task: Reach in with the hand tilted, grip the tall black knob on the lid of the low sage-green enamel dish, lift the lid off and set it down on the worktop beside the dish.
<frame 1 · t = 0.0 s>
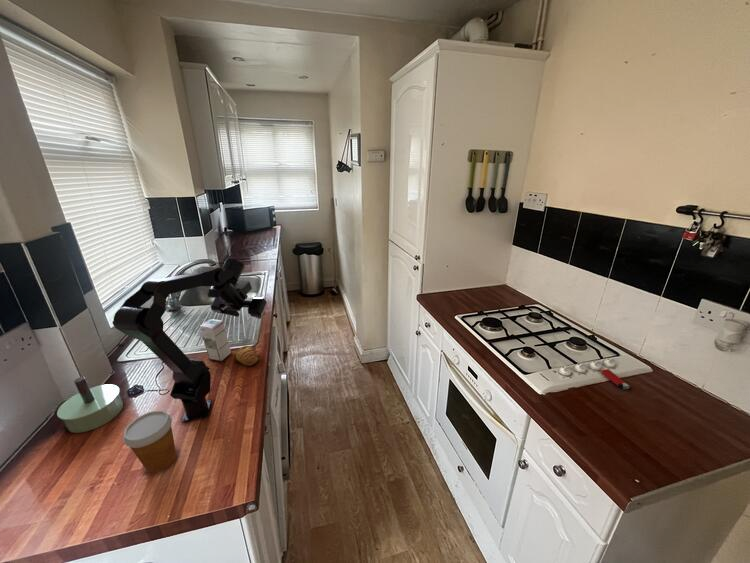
hand: (249, 316, 113), 15 cm above the worktop, tool tilted 35°, fingers open, 9 cm apart
pastry: (248, 359, 114), on the worktop
pot: (96, 414, 90), on the worktop
disposable coffee cup: (161, 461, 76), on the worktop
syrup box: (220, 356, 116), on the worktop
lighter: (614, 381, 98), on the worktop
lid: (90, 401, 88), point 5 cm above the worktop, touching pot
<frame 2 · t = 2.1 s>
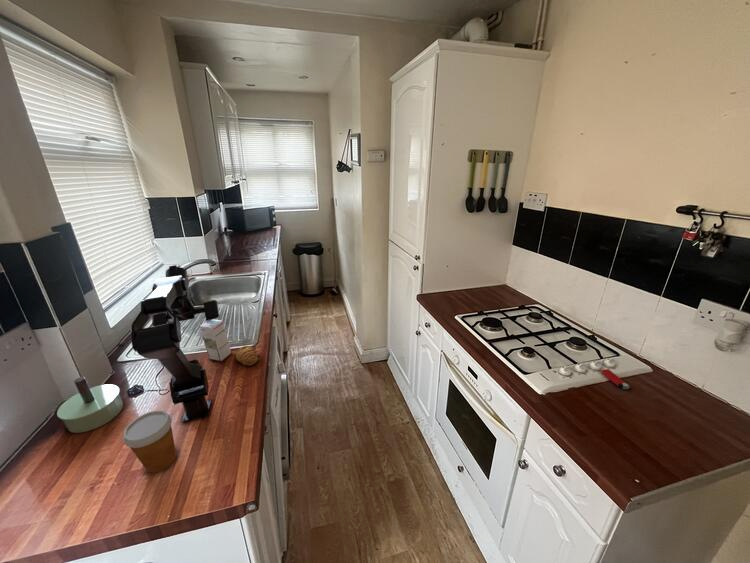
hand: (193, 324, 108), 15 cm above the worktop, tool tilted 35°, fingers open, 9 cm apart
nothing on the worktop moved.
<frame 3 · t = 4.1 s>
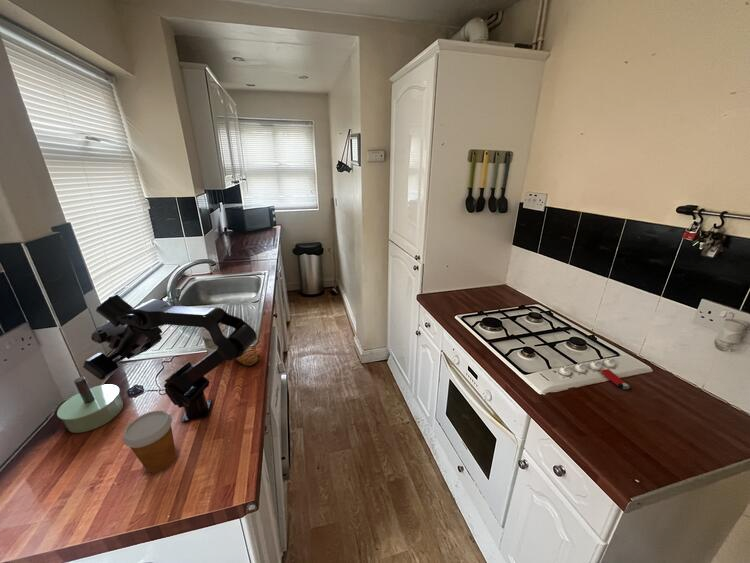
hand: (116, 365, 89), 14 cm above the worktop, tool tilted 45°, fingers open, 9 cm apart
nothing on the worktop moved.
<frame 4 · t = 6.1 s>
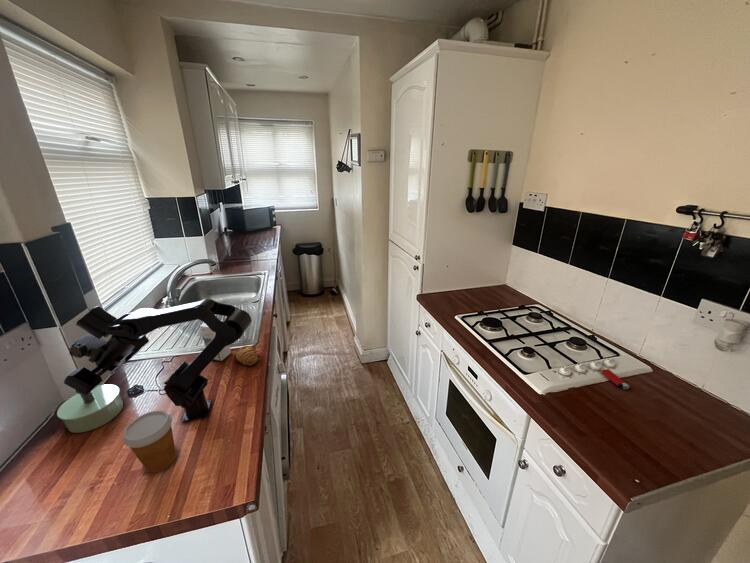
hand: (92, 380, 85), 12 cm above the worktop, tool tilted 45°, fingers open, 9 cm apart
nothing on the worktop moved.
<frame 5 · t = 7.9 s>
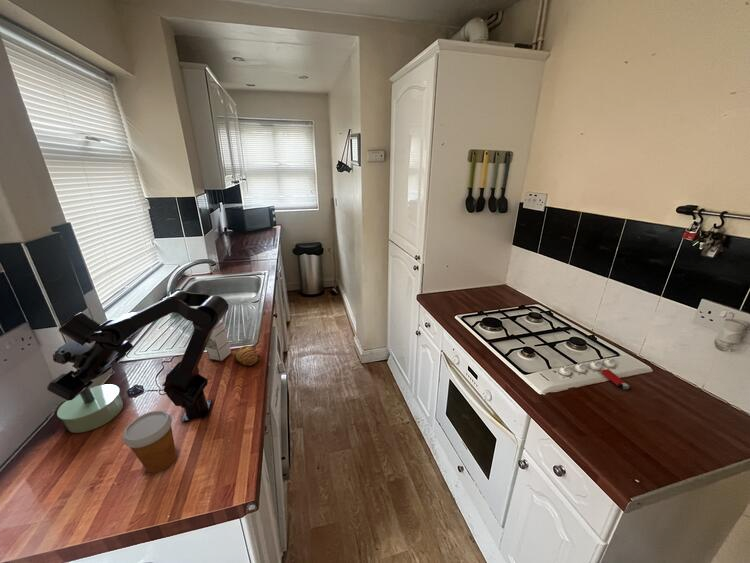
hand: (77, 386, 86), 11 cm above the worktop, tool tilted 45°, fingers closed on lid, 2 cm apart
lid: (90, 401, 88), point 5 cm above the worktop, touching gripper, pot
everything else where it was.
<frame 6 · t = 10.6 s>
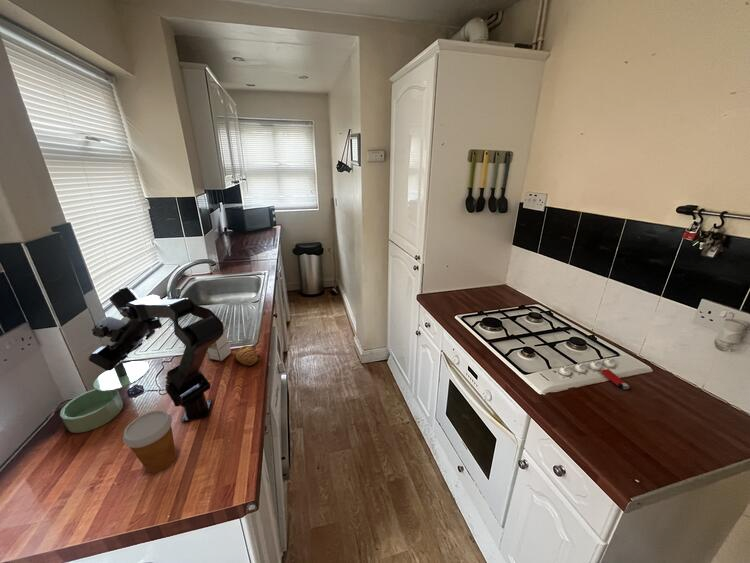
hand: (111, 361, 92), 14 cm above the worktop, tool tilted 45°, fingers closed on lid, 2 cm apart
lid: (122, 376, 94), point 8 cm above the worktop, touching gripper
everything else where it was.
when the fingers open (6 cm above the worktop, at t = 13.5 s): lid stays where it is, point 1 cm above the worktop.
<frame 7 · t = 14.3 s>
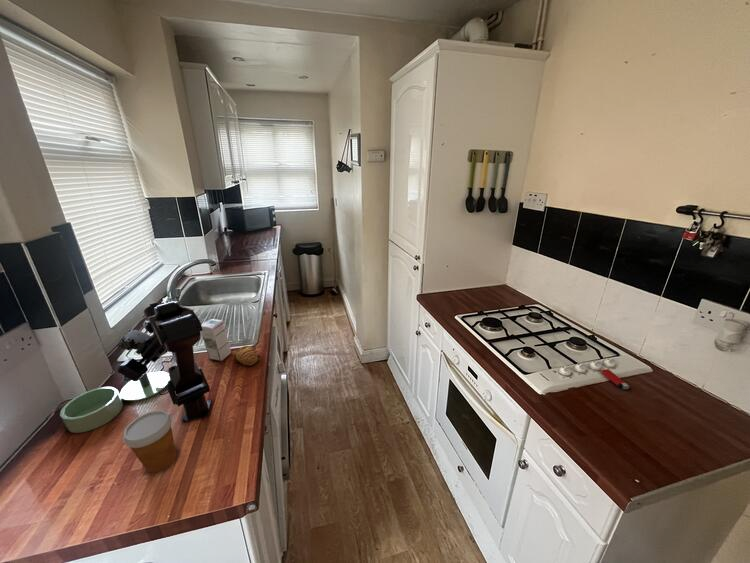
hand: (136, 370, 98), 7 cm above the worktop, tool tilted 45°, fingers open, 9 cm apart
lid: (146, 385, 100), point 1 cm above the worktop
everything else where it was.
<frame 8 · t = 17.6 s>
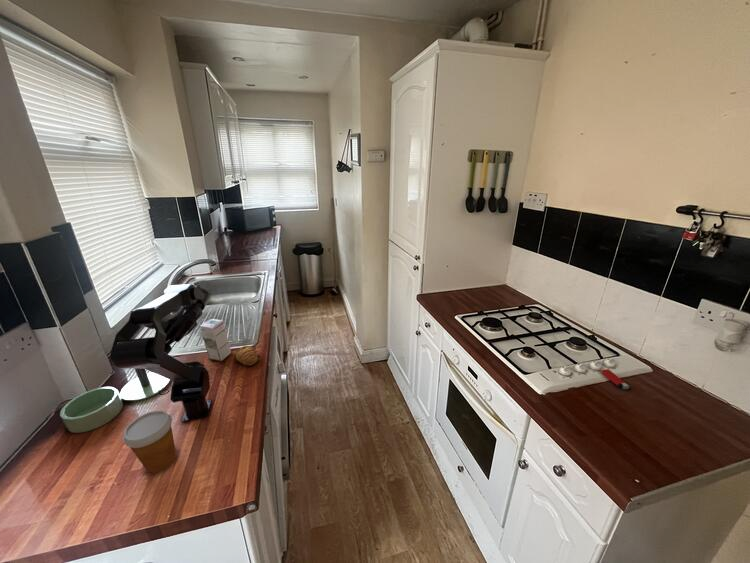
hand: (158, 351, 96), 14 cm above the worktop, tool tilted 45°, fingers open, 9 cm apart
nothing on the worktop moved.
at the end: lid inside the target area (0.1 cm from its centre), point 0.6 cm above the worktop; lid point 0.6 cm above the worktop; lid tilted 0° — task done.
